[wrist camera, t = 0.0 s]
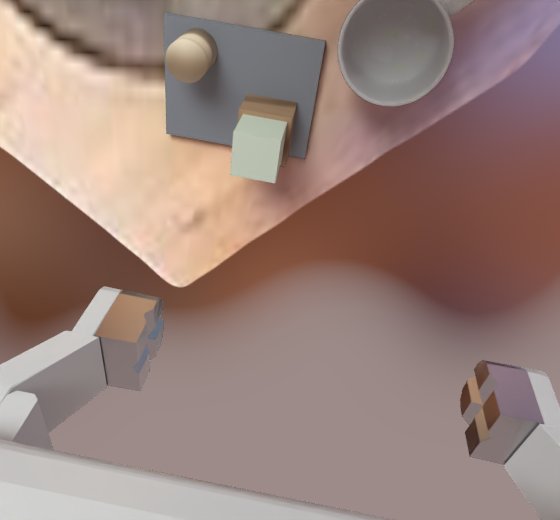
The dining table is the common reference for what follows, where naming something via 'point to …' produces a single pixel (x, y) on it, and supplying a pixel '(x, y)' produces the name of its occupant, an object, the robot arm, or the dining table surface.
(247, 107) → the walnut base block
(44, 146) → the dining table surface
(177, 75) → the beech cylinder
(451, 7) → the teacup
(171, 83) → the slate board
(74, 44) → the dining table surface
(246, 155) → the sage top block
